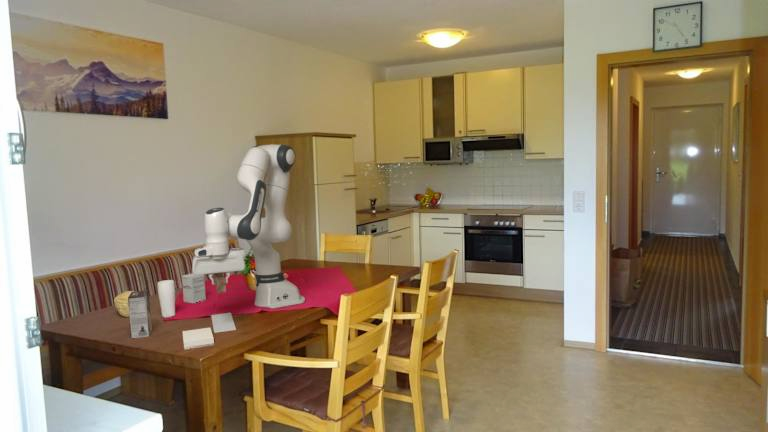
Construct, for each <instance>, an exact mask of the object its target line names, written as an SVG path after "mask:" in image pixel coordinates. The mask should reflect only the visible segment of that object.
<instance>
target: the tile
mask: <svg viewBox="0 0 768 432" xmlns="http://www.w3.org/2000/svg"><path fill="white" fill-rule="evenodd" d="M214 339H215V338H214V335H213V331H212V329H211V327H203V328H195V329H188V330H182V341H183V350H190V348H191V349H196V348H203V347H209V346H210V347H211V346H214V345H215V340H214Z"/></svg>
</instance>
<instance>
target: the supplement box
mask: <svg viewBox="0 0 768 432" xmlns="http://www.w3.org/2000/svg"><path fill="white" fill-rule="evenodd" d="M181 281H182V294H183V295H182V296H183V302H184V303H189V304H193V303H194V304H197V303H196V302H198V303H200V302H199V301H201V302H204V301H203V300H205V301H206V299H207V297H206V284H205V283H206V282H205V274H202V275H194V274H193V273H192V272H191V273H188V274H183V275H181Z"/></svg>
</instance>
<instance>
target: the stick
mask: <svg viewBox="0 0 768 432" xmlns="http://www.w3.org/2000/svg"><path fill="white" fill-rule="evenodd" d="M213 275H214V279H216V284H214V285H215V289H216V291H217V294H223V293H227V288H226V286H227V285H226V284H227V283H225V280H224V278H225V277H224V275H223V272H222V273H213Z"/></svg>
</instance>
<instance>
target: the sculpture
mask: <svg viewBox="0 0 768 432" xmlns="http://www.w3.org/2000/svg"><path fill="white" fill-rule="evenodd" d="M131 292H137V291H136V290H133V291H132V290H125V291H124V292H122V293H119V294H117V295H116V296H115V298H114V299H113V303H114V307H115V308H116V310H117V311H118V312H119V315H121V317H124V318H130V314H129V303H128V297H129V295H130V294H131Z"/></svg>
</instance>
